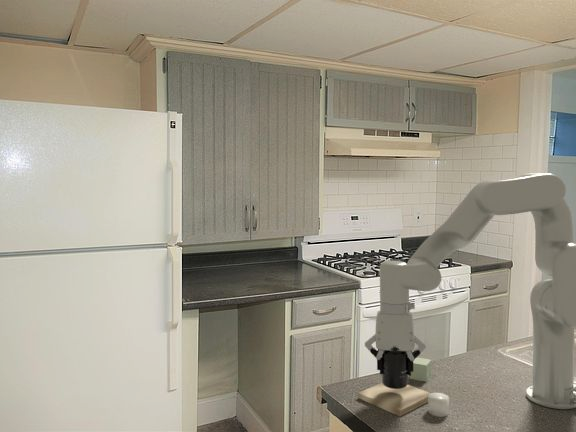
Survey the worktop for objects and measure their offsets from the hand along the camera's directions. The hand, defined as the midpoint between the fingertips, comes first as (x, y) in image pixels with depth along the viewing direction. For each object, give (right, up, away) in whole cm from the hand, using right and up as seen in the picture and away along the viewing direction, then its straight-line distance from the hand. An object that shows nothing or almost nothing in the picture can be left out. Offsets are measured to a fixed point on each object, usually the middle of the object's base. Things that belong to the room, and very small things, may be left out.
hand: (395, 372), depth 131 cm
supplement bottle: (0, -3, 0) cm, 3 cm away
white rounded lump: (+9, -8, -7) cm, 14 cm away
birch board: (0, -7, +1) cm, 7 cm away
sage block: (+11, -6, +14) cm, 19 cm away
